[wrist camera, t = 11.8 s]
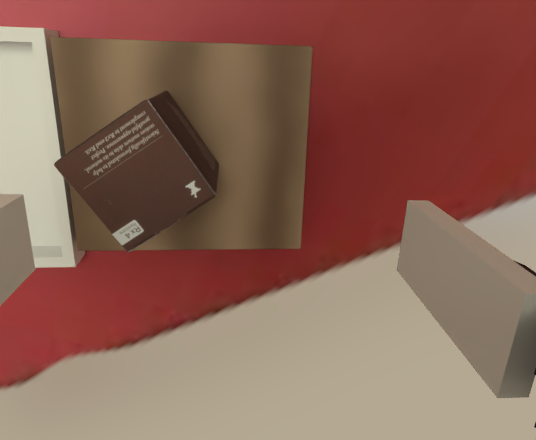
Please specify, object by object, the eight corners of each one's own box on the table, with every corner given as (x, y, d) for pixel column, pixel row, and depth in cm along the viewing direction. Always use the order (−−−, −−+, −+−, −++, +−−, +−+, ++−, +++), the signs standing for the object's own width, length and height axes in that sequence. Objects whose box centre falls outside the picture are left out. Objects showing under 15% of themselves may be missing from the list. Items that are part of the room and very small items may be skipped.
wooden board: (304, 48, 30) (312, 46, 27) (294, 233, 35) (300, 248, 32) (67, 39, 29) (50, 37, 26) (90, 235, 33) (77, 250, 31)
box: (168, 87, 27) (149, 95, 21) (221, 165, 29) (220, 196, 23) (92, 139, 28) (48, 163, 21) (148, 212, 30) (126, 256, 23)
